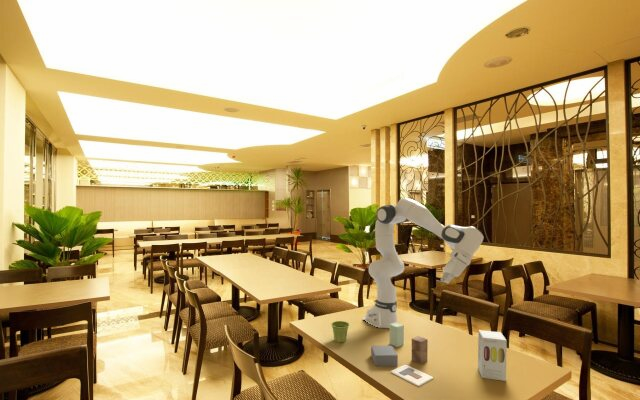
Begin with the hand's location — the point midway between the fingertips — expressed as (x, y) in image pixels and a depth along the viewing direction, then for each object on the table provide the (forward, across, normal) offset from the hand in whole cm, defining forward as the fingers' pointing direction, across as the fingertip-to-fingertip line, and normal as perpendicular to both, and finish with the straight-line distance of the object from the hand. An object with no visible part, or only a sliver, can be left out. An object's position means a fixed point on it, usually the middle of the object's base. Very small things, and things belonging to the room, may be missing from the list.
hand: (443, 282), depth 158 cm
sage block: (+39, -15, +1) cm, 42 cm away
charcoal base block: (+46, +4, -4) cm, 46 cm away
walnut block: (+36, +1, +10) cm, 38 cm away
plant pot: (+55, -15, -23) cm, 62 cm away
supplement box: (+22, +9, +34) cm, 41 cm away
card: (+41, +16, +6) cm, 44 cm away
